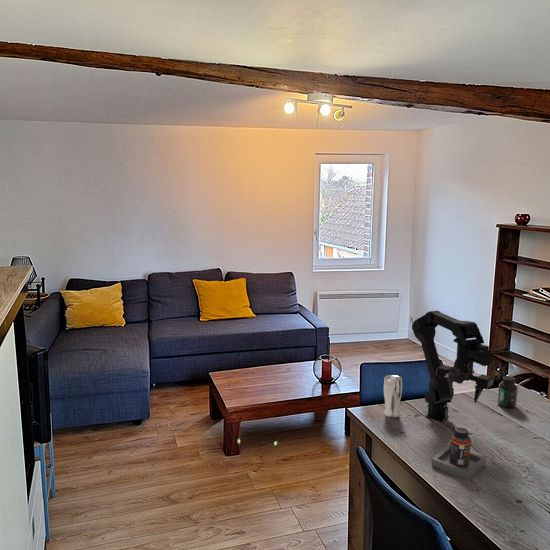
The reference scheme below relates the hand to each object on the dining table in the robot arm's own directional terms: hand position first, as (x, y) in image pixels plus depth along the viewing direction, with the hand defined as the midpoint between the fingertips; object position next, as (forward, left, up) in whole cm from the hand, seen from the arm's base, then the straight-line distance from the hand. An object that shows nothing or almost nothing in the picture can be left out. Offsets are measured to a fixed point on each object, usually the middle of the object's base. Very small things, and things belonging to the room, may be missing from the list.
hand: (462, 398), depth 181 cm
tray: (+9, -22, -13) cm, 27 cm away
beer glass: (-26, -4, -13) cm, 29 cm away
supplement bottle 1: (+9, -22, -12) cm, 27 cm away
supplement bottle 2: (+4, +35, -13) cm, 38 cm away
